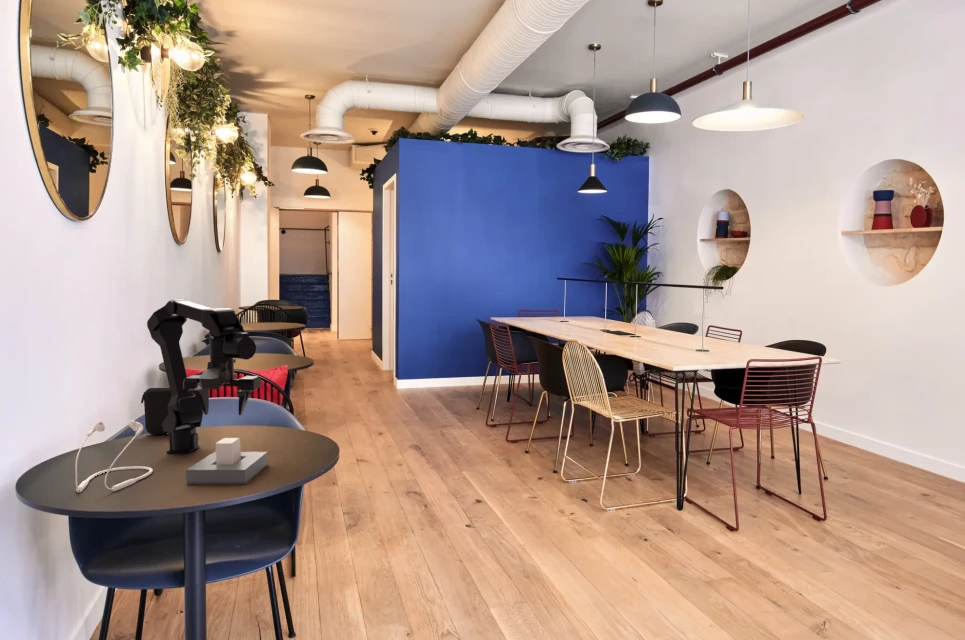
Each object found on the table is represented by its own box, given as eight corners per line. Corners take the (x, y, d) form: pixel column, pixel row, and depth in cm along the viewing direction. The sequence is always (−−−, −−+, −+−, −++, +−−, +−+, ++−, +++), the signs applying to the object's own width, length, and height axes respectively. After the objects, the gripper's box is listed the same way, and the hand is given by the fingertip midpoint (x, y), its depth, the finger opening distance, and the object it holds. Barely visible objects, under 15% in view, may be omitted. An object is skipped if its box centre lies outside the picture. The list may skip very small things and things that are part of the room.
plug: (216, 475, 155) (215, 443, 155) (227, 467, 162) (226, 436, 161) (233, 475, 155) (231, 443, 154) (243, 467, 161) (242, 436, 161)
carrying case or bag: (140, 436, 195) (138, 389, 194) (145, 433, 198) (142, 387, 197) (177, 435, 196) (174, 388, 195) (180, 432, 199) (178, 386, 198)
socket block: (186, 484, 150) (186, 469, 150) (214, 465, 165) (214, 451, 165) (245, 484, 150) (244, 469, 150) (268, 465, 165) (267, 451, 165)
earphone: (54, 481, 141) (86, 416, 154) (85, 519, 153) (112, 455, 166) (118, 480, 142) (144, 415, 155) (143, 517, 154) (165, 453, 166)
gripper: (170, 360, 159) (172, 421, 161) (244, 361, 159) (245, 422, 160) (192, 354, 170) (194, 411, 172) (261, 355, 170) (262, 412, 171)
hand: (223, 414), depth 168 cm, fingers open, 9 cm apart
